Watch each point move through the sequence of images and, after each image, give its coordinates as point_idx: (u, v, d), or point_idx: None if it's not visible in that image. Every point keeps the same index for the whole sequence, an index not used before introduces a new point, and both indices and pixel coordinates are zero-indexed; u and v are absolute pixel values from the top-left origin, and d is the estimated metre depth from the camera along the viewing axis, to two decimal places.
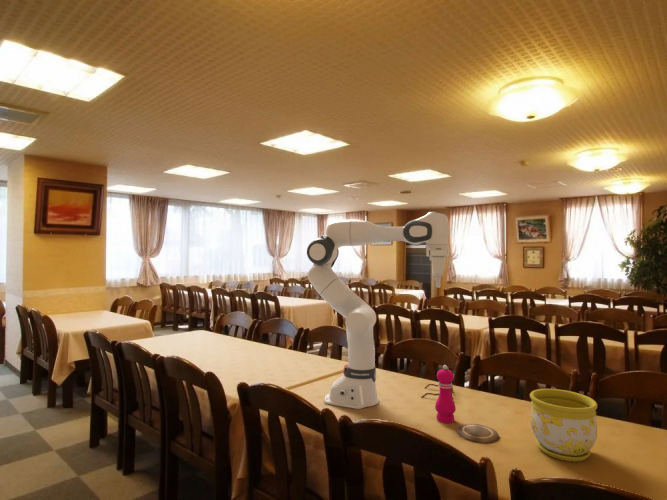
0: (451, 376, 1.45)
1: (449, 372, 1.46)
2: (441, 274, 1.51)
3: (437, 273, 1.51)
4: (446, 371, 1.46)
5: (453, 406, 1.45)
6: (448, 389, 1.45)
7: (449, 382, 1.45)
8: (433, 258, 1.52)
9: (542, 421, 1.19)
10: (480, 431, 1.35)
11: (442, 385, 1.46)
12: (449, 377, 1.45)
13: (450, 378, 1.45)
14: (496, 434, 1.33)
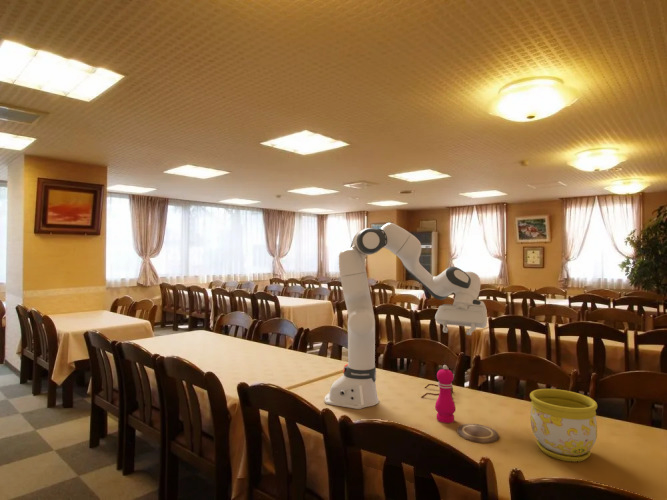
0: (451, 376, 1.45)
1: (449, 372, 1.46)
2: (485, 326, 1.56)
3: (485, 323, 1.55)
4: (446, 371, 1.46)
5: (453, 406, 1.45)
6: (448, 389, 1.45)
7: (449, 382, 1.45)
8: (484, 309, 1.58)
9: (542, 421, 1.19)
10: (480, 431, 1.35)
11: (442, 385, 1.46)
12: (449, 377, 1.45)
13: (450, 378, 1.45)
14: (496, 434, 1.33)
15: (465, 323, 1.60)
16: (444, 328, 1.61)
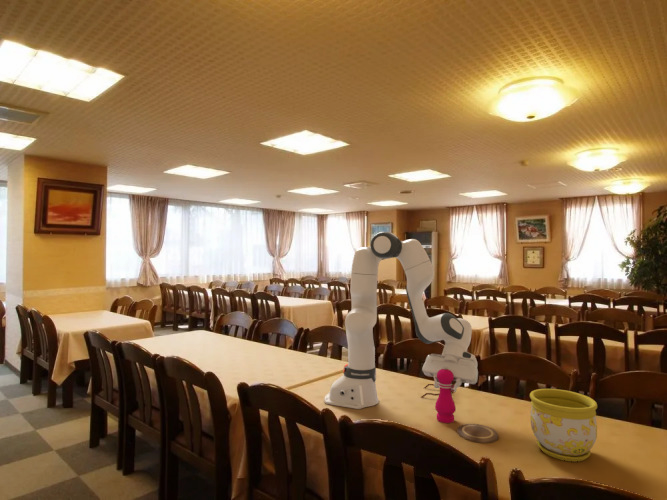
0: (451, 376, 1.45)
1: (449, 372, 1.46)
2: (475, 382, 1.45)
3: (475, 379, 1.44)
4: (446, 371, 1.46)
5: (453, 406, 1.45)
6: (448, 389, 1.45)
7: (449, 382, 1.45)
8: (474, 363, 1.47)
9: (542, 421, 1.19)
10: (480, 431, 1.35)
11: (442, 385, 1.46)
12: (449, 377, 1.45)
13: (450, 378, 1.45)
14: (496, 434, 1.33)
15: (454, 378, 1.49)
16: (435, 383, 1.49)
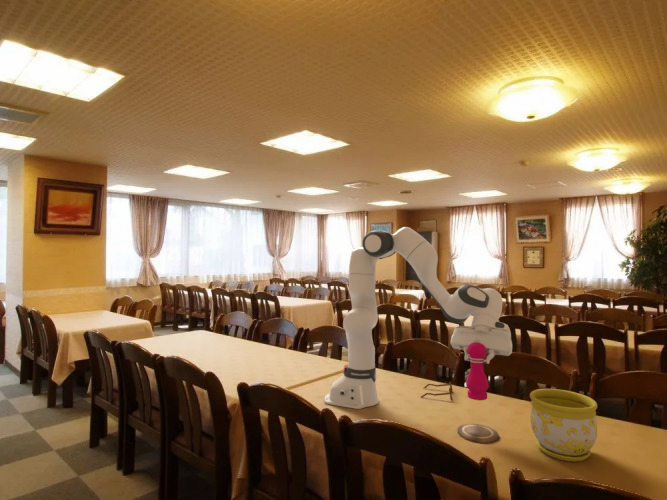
0: (484, 349, 1.34)
1: (481, 345, 1.34)
2: (510, 353, 1.33)
3: (510, 350, 1.32)
4: (478, 344, 1.34)
5: (486, 382, 1.33)
6: (481, 364, 1.34)
7: (482, 356, 1.34)
8: (508, 333, 1.35)
9: (542, 421, 1.19)
10: (480, 431, 1.35)
11: (474, 359, 1.34)
12: (482, 350, 1.33)
13: (483, 351, 1.33)
14: (496, 434, 1.33)
15: (486, 349, 1.37)
16: (466, 356, 1.37)
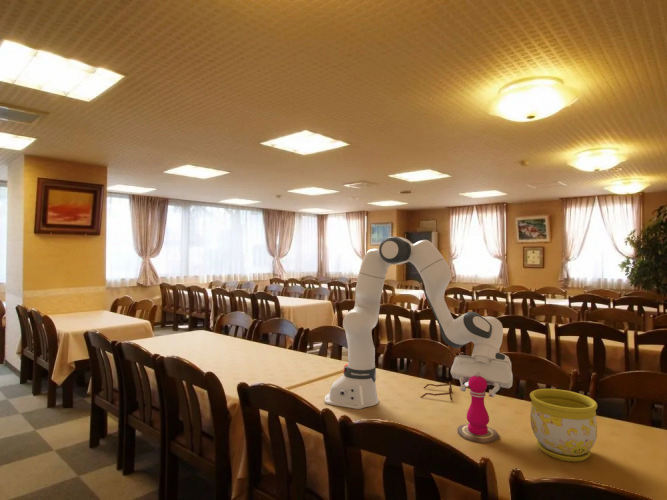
0: (485, 384, 1.33)
1: (482, 379, 1.34)
2: (510, 386, 1.33)
3: (510, 383, 1.32)
4: (479, 378, 1.34)
5: (487, 416, 1.33)
6: (481, 398, 1.33)
7: (483, 390, 1.33)
8: (509, 365, 1.35)
9: (542, 421, 1.19)
10: None
11: (475, 394, 1.33)
12: (483, 384, 1.33)
13: (484, 386, 1.33)
14: (496, 434, 1.33)
15: (486, 381, 1.37)
16: (462, 386, 1.38)
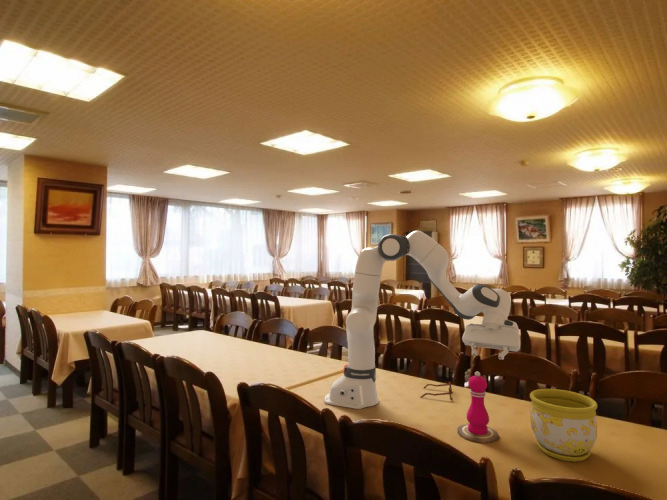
0: (485, 384, 1.33)
1: (482, 379, 1.34)
2: (518, 349, 1.43)
3: (518, 346, 1.42)
4: (479, 378, 1.34)
5: (487, 416, 1.33)
6: (481, 398, 1.33)
7: (483, 390, 1.33)
8: (517, 330, 1.46)
9: (542, 421, 1.19)
10: None
11: (475, 394, 1.34)
12: (482, 384, 1.33)
13: (484, 386, 1.33)
14: (496, 434, 1.33)
15: (496, 346, 1.47)
16: (473, 351, 1.48)
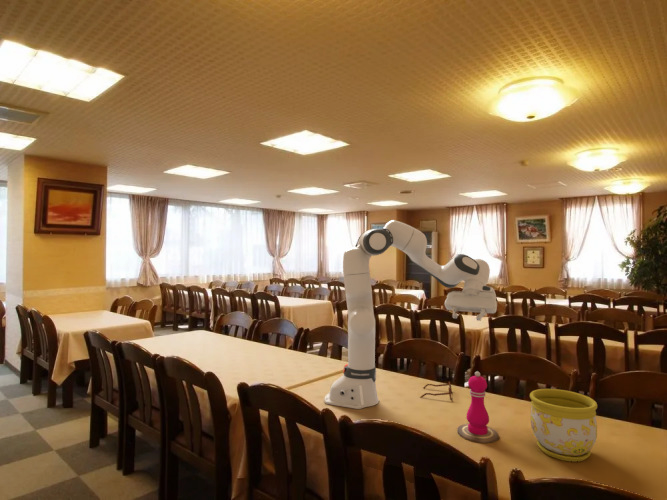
0: (485, 384, 1.33)
1: (482, 379, 1.34)
2: (494, 311, 1.57)
3: (494, 308, 1.56)
4: (479, 378, 1.34)
5: (487, 416, 1.33)
6: (481, 398, 1.33)
7: (482, 390, 1.33)
8: (493, 295, 1.59)
9: (542, 421, 1.19)
10: None
11: (475, 394, 1.34)
12: (482, 384, 1.33)
13: (484, 386, 1.33)
14: (496, 434, 1.33)
15: (475, 309, 1.61)
16: (454, 314, 1.62)
